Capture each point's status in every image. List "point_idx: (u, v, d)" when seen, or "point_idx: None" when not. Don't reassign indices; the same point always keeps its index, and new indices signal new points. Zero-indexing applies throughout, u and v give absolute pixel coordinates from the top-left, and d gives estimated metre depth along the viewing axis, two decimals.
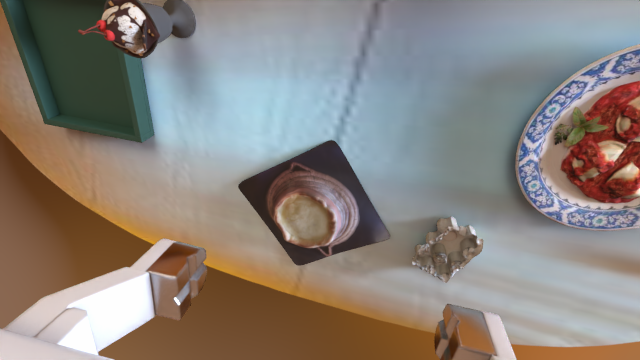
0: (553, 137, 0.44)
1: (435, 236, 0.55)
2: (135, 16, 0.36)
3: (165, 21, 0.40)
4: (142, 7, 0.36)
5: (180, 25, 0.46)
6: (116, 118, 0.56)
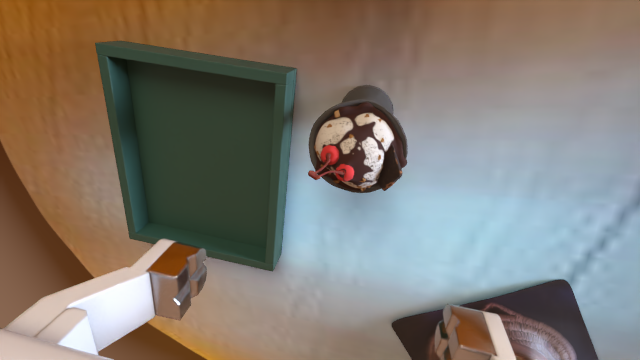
0: None
1: None
2: (382, 137, 0.21)
3: None
4: (393, 122, 0.21)
5: None
6: (232, 233, 0.40)
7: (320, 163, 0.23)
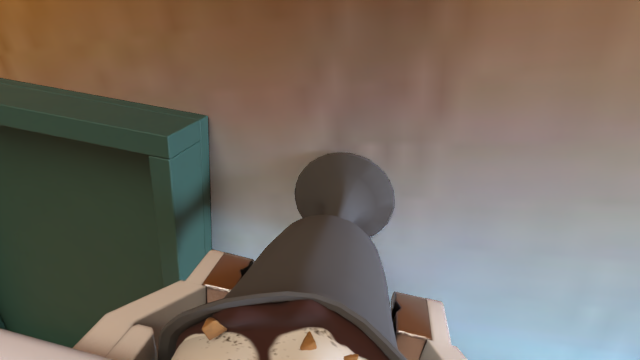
0: None
1: None
2: None
3: None
4: None
5: (352, 223, 0.16)
6: None
7: None
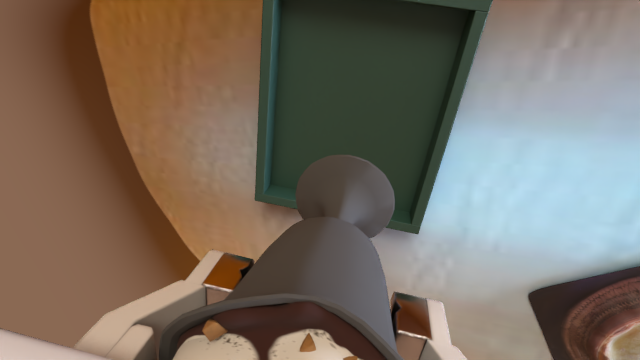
0: None
1: None
2: None
3: None
4: None
5: (353, 224, 0.16)
6: None
7: None
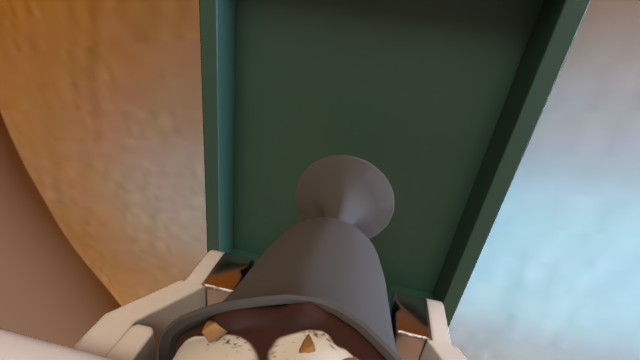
0: None
1: None
2: None
3: None
4: None
5: (353, 225, 0.16)
6: None
7: None
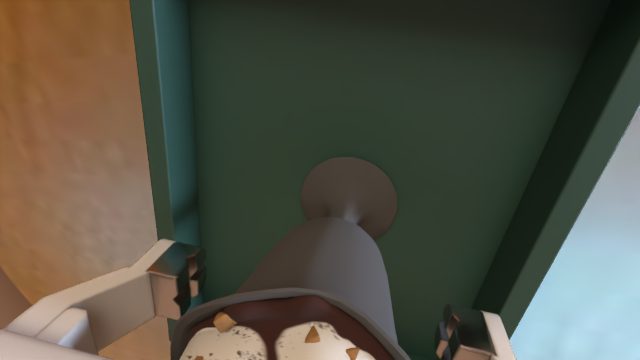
0: None
1: None
2: None
3: None
4: (395, 358, 0.07)
5: (356, 225, 0.16)
6: None
7: None
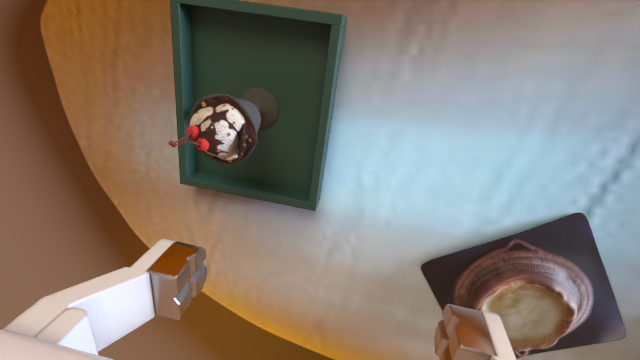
0: None
1: None
2: (234, 120, 0.29)
3: (257, 119, 0.34)
4: (242, 110, 0.30)
5: (261, 116, 0.39)
6: (275, 178, 0.43)
7: None
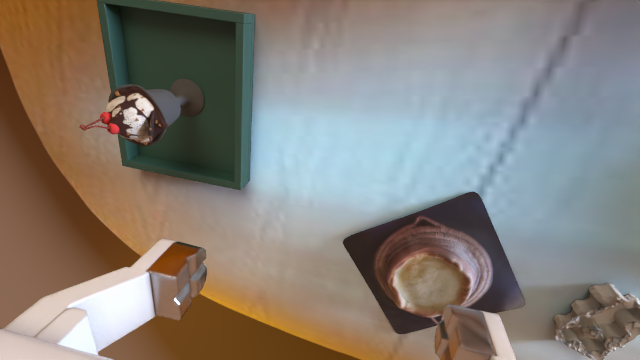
0: None
1: (587, 306, 0.46)
2: (142, 108, 0.34)
3: (173, 107, 0.38)
4: (150, 98, 0.34)
5: (188, 105, 0.44)
6: (208, 161, 0.48)
7: None
